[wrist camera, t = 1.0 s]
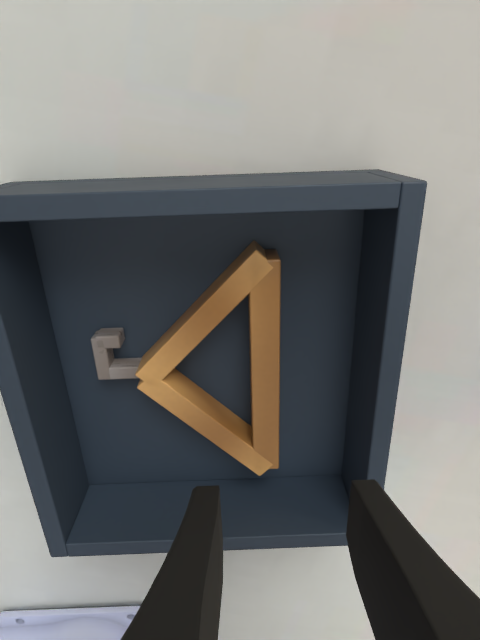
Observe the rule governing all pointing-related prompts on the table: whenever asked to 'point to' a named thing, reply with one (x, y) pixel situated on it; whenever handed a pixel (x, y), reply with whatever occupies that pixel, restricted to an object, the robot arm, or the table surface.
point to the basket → (202, 348)
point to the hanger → (187, 332)
